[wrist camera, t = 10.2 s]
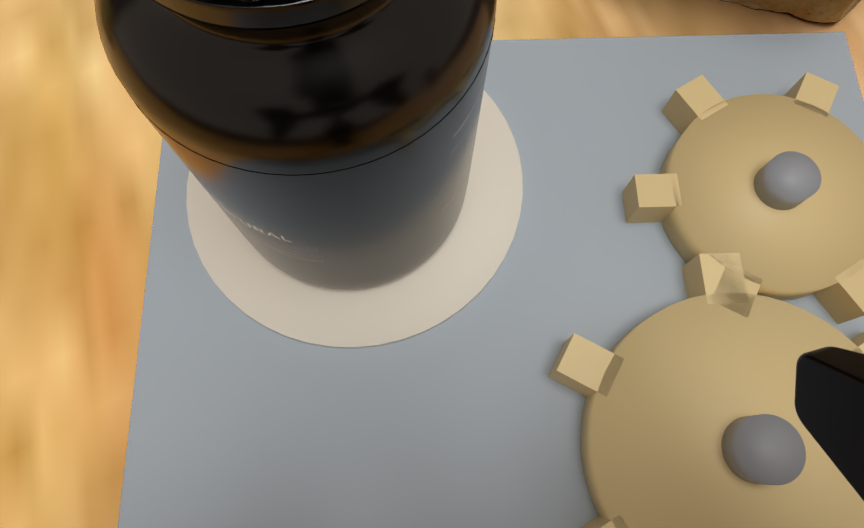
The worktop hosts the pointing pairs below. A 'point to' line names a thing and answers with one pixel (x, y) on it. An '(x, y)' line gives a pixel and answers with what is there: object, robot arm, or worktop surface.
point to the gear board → (553, 321)
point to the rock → (805, 8)
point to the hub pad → (389, 302)
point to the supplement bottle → (315, 119)
